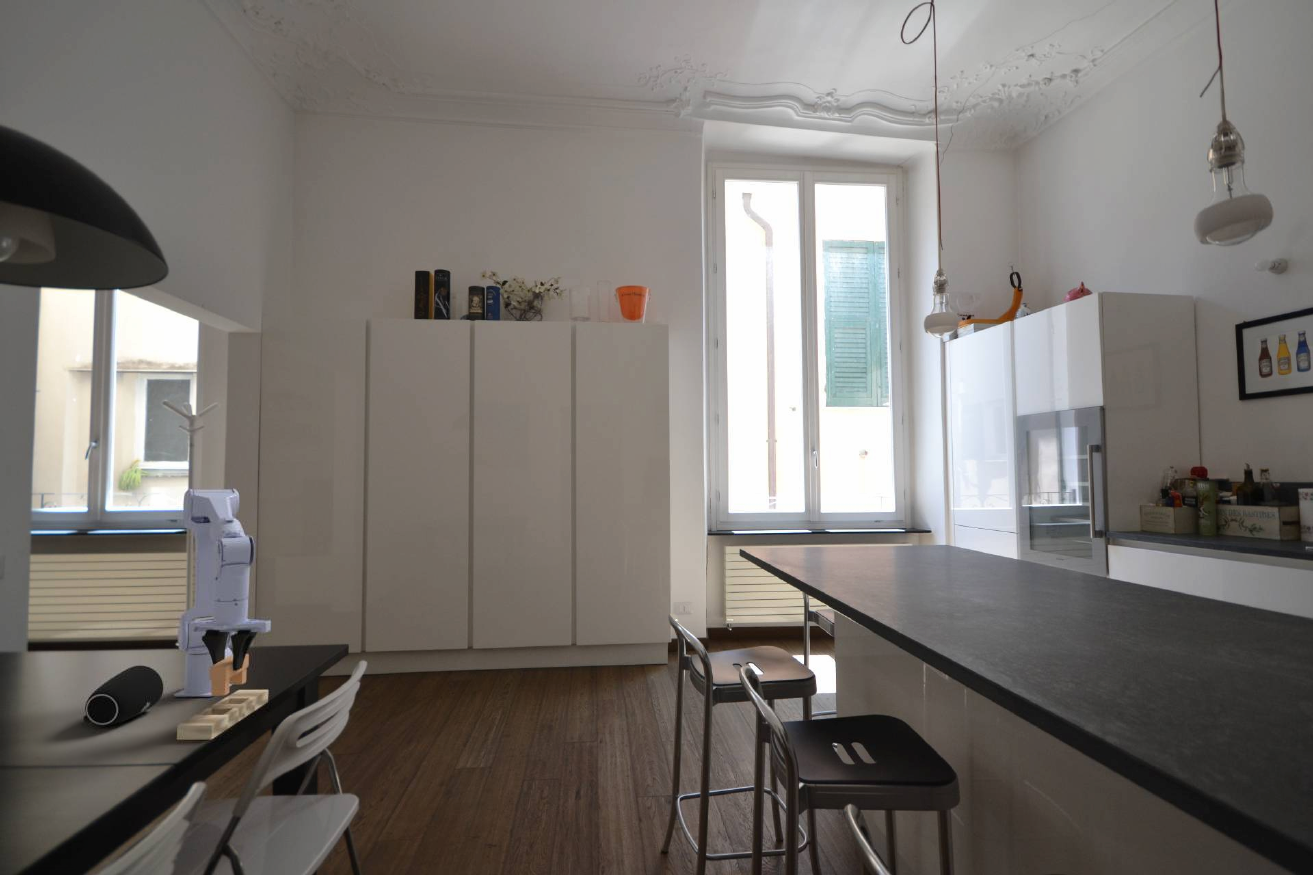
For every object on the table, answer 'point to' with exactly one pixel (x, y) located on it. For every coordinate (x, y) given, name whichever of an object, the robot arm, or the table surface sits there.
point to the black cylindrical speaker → (124, 696)
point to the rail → (222, 715)
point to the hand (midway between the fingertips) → (228, 669)
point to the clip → (226, 675)
